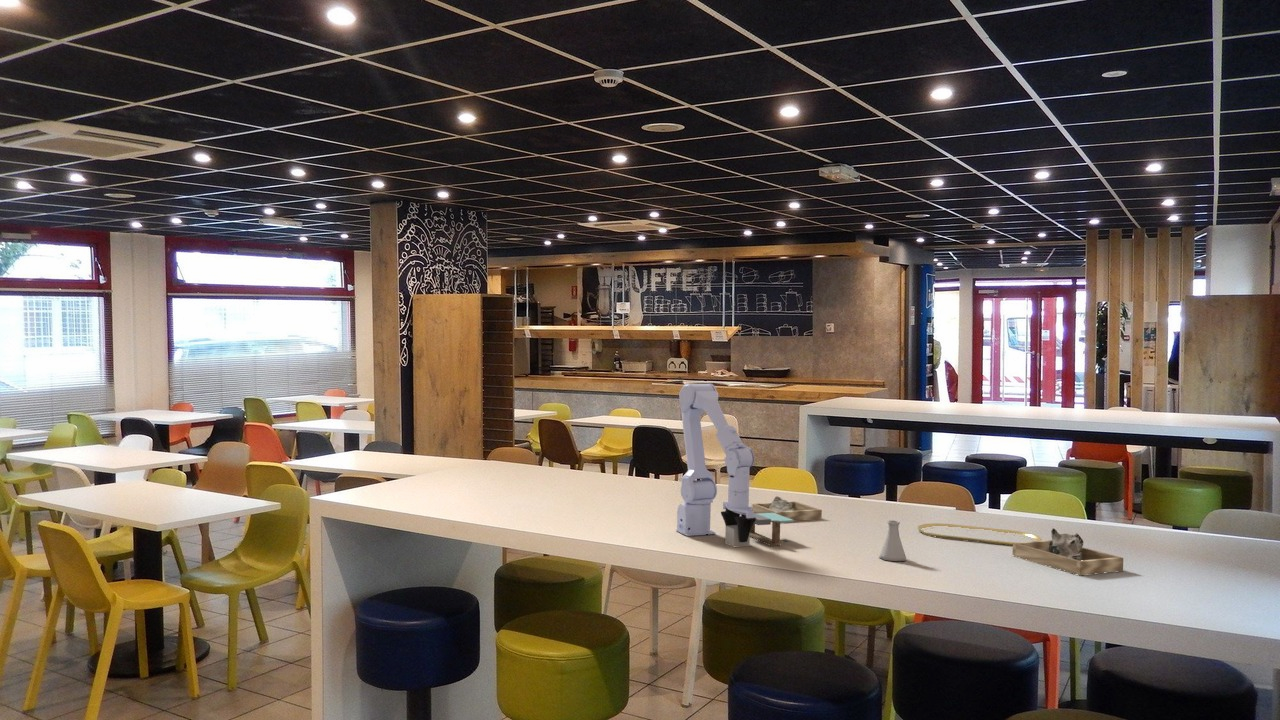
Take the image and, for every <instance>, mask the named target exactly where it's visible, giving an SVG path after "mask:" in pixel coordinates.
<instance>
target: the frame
mask: <svg viewBox="0 0 1280 720" xmlns="http://www.w3.org/2000/svg"><path fill="white" fill-rule="evenodd" d="M754 513H755V512H754ZM771 529H772V530H771V538H770V537H767V536H766V535H762V534H761V533H758V532H756V524H753V525H752V527H751V530H750V536H751V537H750V538H752V537H753V538H752V539H754V538H755V539H754V540H757V539H758V540H757V541H759V540H760V542H761V541H762V543H764V542H765V543H764V544H766V543H767V544H766V545H768V544H770V545H769V546H771V545H772V547H778V546H777V545H781V546H782V544H781V523H780V521H778V520H773V521H772V522H771Z"/></svg>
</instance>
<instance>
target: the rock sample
mask: <svg viewBox="0 0 1280 720" xmlns="http://www.w3.org/2000/svg"><path fill="white" fill-rule="evenodd" d="M790 502H791V501H788V500H786V499H783V498H782V497H779V496H777V495H776V496H775V497H774V499H773V500H772V502H771V503H772V504H771V505H770V507H769V508H768V509H771V510H774V511H777V512H781V511H795V509H794V508H793V505H792V504H791V503H790Z"/></svg>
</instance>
